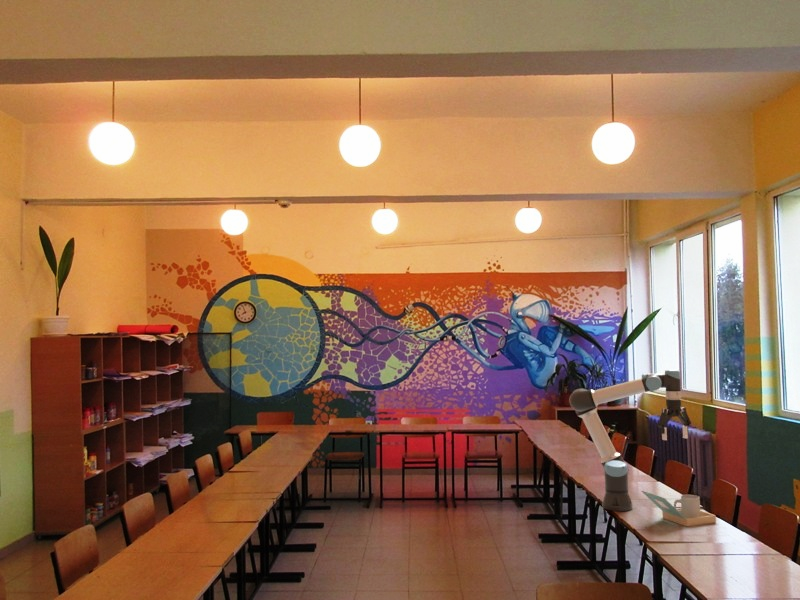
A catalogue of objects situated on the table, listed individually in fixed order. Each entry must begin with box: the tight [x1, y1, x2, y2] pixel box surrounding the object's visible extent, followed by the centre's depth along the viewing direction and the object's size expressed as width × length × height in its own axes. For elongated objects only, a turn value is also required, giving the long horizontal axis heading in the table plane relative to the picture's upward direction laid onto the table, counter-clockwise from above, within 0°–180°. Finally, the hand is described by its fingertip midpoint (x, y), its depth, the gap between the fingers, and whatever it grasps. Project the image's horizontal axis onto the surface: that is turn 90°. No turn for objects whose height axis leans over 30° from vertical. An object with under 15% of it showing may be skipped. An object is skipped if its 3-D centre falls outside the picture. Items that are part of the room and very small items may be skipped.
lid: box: [641, 490, 685, 519], centre depth 328 cm, size 16×16×1 cm
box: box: [661, 507, 717, 528], centre depth 333 cm, size 17×17×4 cm
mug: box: [673, 494, 701, 519], centre depth 333 cm, size 12×8×11 cm
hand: (675, 439), depth 363 cm, fingers open, 13 cm apart
